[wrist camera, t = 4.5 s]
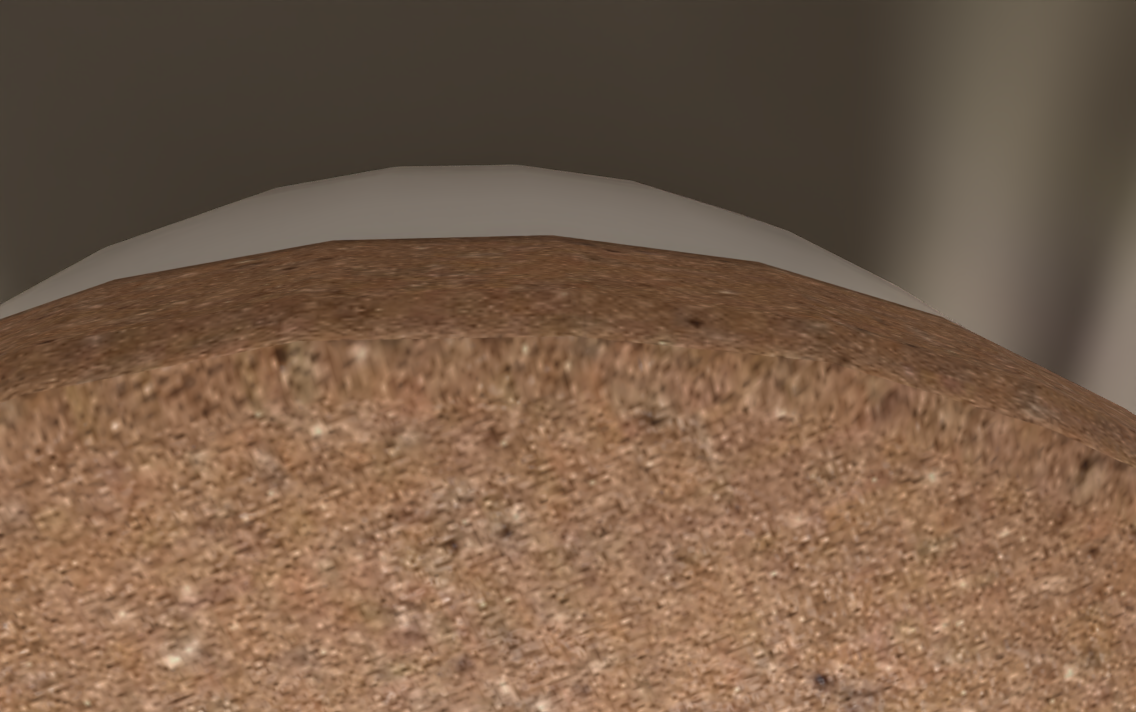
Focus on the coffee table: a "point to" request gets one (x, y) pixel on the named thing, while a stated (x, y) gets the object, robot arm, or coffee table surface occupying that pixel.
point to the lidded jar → (540, 470)
